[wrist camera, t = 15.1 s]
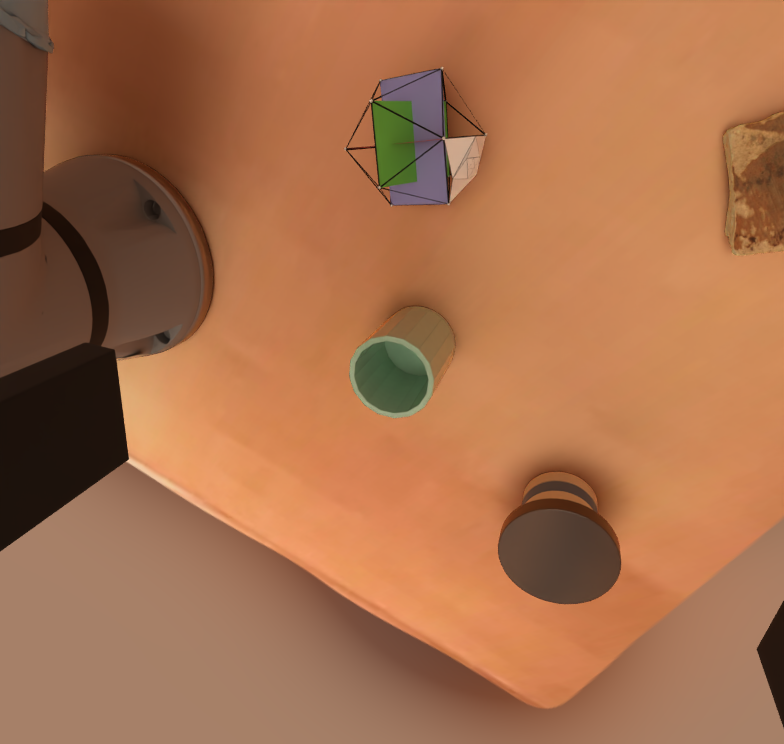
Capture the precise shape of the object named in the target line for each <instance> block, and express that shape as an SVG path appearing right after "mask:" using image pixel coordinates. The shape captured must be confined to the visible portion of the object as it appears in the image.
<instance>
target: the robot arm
mask: <svg viewBox="0 0 784 744" xmlns="http://www.w3.org/2000/svg"><path fill="white" fill-rule="evenodd" d="M53 49H54V43H53V42H52V40H51V39H50V37H49V29H48V0H0V551H1V550H3V549H4V548H6V547H7V546H8V545H10V544H11V543H13V542H14V541H15V540H17V539H18V538H20V537H21V536H22V535H24V534H25V533H27V532H28V531H29V530H31V529H32V528H34V527H35V526H36V525H38V524H39V523H41V522H42V521H43V520H45V519H46V518H47V517H49V516H50V515H52V514H53V513H54V512H56V511H57V510H59V509H60V508H62V507H63V506H64V505H66V504H67V503H69V502H70V501H71V500H73V499H74V498H75V497H77V496H78V495H80V494H81V493H82V492H84V491H85V490H87V489H88V488H89V487H91V486H92V485H94V484H95V483H96V482H98V481H99V480H100V479H102V478H103V477H105V476H106V475H108V474H109V473H110V472H112V471H113V470H115V469H116V468H117V467H119V466H120V465H122V464H123V463H124V462H126V461H127V460H129V456H128V449H127V441H126V433H125V425H124V417H123V409H122V401H121V393H120V385H119V377H118V370H117V362H116V361H120V360H126V359H130V358H135V357H143V356H149V355H153V354H157V353H161V352H164V351H166V350H168V349H170V348H172V347H174V346H176V345H178V344H180V343H182V342H183V341H185V340H187V339H188V338H189V337H190V336H192V335H193V333H194V332H195V331H196V330H197V329H198V328H199V326H200V325H201V324H202V322H203V320H204V318H205V316H206V314H207V311H208V309H209V305H210V302H211V297H212V289H213V270H212V262H211V256H210V252H209V248H208V244H207V241H206V238H205V235H204V233H203V231H202V228H201V226H200V224H199V222H198V220H197V218H196V216H195V214H194V213H193V211H192V209H191V208H190V206H189V205H188V203H187V202H186V201H185V199H184V198H183V197H182V195H181V194H180V193H179V192H178V191H177V189H176V188H175V187H174V186H173V185H172V184H171V183H170V182H169V181H167V180H166V179H165V178H164V177H163V176H162V175H160V174H159V173H158V172H156V171H155V170H153V169H152V168H150V167H148V166H147V165H145V164H143V163H141V162H139V161H136V160H134V159H131V158H128V157H124V156H119V155H86V156H81V157H77V158H74V159H70V160H67V161H64V162H62V163H60V164H58V165H56V166H54V167H52V168H50V169H48V170H47V171H45V172H43V169H44V144H45V119H46V93H47V68H48V52H50V53H53ZM116 358H122V359H118V360H116ZM757 651H758V654H759V657H760V660H761V663H762V666H763V669H764V672H765V675H766V678H767V681H768V683H769V686H770V689H771V692H772V695H773V698H774V701H775V704H776V707H777V710H778V712H779V715H780V718H781V721H782V724H783V727H784V601H783V603H782V605H781V606H780V608H779V610H778V612H777V614H776V615H775V617H774V619H773V621H772V623H771V624H770V626H769V628H768V630H767V631H766V633H765V635H764V637H763V639H762V640H761V642H760V644H759V646H758V648H757Z"/></svg>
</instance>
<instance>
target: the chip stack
mask: <svg viewBox="0 0 784 744" xmlns="http://www.w3.org/2000/svg"><path fill="white" fill-rule="evenodd" d="M546 498H558V499H565V500H570V501H574V502H577V503H580V504H582V505H584V506H587V507H589V508H590V509H592V510H594V511H595V512H597V513H598V504H597V498H596V495H595V493H594V491H593V490H592V488H591V487H590V486H589V485H588V484H587V483H586V482H585V481H584V480H582V479H581V478H579V477H577V476H575V475H572V474H569V473H565V472H548V473H544V474H541V475H539V476H537V477H535V478H534V479H533V480H532V481H530V482H529V484H528V485H527V486H526V488H525V491H524V494H523V501H522V505H523V504H525V503H528V502H531V501H534V500H538V499H546Z"/></svg>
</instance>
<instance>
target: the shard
mask: <svg viewBox="0 0 784 744" xmlns="http://www.w3.org/2000/svg"><path fill="white" fill-rule="evenodd" d="M723 145H724V149H725V157H726V164H727V169H728V174H729V175H728V178H729V189H730V196H729V207H728V211H727V220H726V226H725V236H728V238H729V243H730V245H731V250H732V253H733V254H734V255H736V256H745V255H753V254H757V253H767V252H776V251H784V111H783V112H780V113H776V114H773V115H771V116H770V117H768V118H766V119H764V120H762V121H758V122H753V123H748V124H740V125H739V126H737V127H733V128H730V129H728V130H727V131H726V133H725V134H724V135H723Z"/></svg>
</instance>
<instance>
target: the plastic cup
mask: <svg viewBox="0 0 784 744" xmlns="http://www.w3.org/2000/svg"><path fill="white" fill-rule="evenodd" d="M454 353H455V337H454V334H453V331H452V329H451V327H450V325H449V324H448V322H447V321H446V320H445V319H444V318H443V317H442V316H441V315H440V314H438V313H437V312H435V311H433V310H431V309H429V308H425V307H420V306H412V307H406V308H403V309H401V310H399V311H397V312H396V313H395V314H393V315H392V316H391V317H389V318H388V319H387V320H386V321H385V322H384V323H383V324H382V325H381V326H380V327H379V328H378V329H377V330H376V331H375V332H373V333H372V334H371V335H370V336H369V337H368V338H367V339H366V340H365V341H364V342H363V343H362V344H361V345H360V346H359V347H358V348H357V349H356V351H355V353H354V355H353V357H352V359H351V361H350V372H349V377H350V381H351V384H352V387H353V390H354V392H355V394H356V395H357V396H358V397H359V399H360V400H361V401H362V403H363V404H364V405H365V406H367V407H368V408H370V409H371V410H373V411H374V412H376V413H377V414H380V415H384V416H388V417H392V418H400V417H408V416H411V415H413V414H415V413H416V412H418V411H420V410H422V409H423V408H424V407H425V405H426V404H427V402H428V401H429V399H430V398H431V396H432V395H433V393H434V391H435V390H436V388H437V386H438V384H439V383H440V381H441V379H442V377H443V375H444V374H445V372H446V370H447V368H448V367H449V365H450V363H451V361H452V359H453V356H454Z"/></svg>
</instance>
